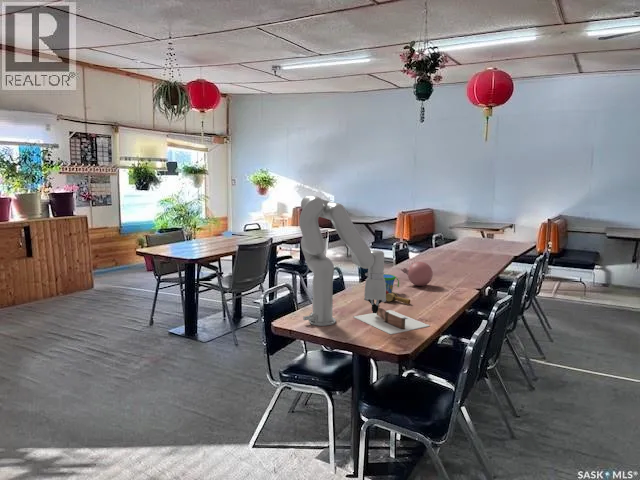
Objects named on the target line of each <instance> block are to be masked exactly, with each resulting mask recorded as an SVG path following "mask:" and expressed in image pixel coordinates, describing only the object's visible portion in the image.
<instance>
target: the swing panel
mask: <svg viewBox="0 0 640 480" xmlns="http://www.w3.org/2000/svg"><path fill="white" fill-rule="evenodd" d="M386 311H387V310H385V309H383V307H381V305H380V304H379V305H378V311H377V315H379V316H380V317H381V318H383V319H384V320H385V312H386Z"/></svg>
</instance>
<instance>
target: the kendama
mask: <svg viewBox="0 0 640 480" xmlns="http://www.w3.org/2000/svg"><path fill="white" fill-rule="evenodd" d="M394 301H397V302H399V303H402V304H405V305H410V303H411V299H409V298H405V297H402V296H398V293H396V292H395V291H392V293H389V292H388V291H386V302H394Z"/></svg>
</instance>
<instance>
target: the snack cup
mask: <svg viewBox="0 0 640 480" xmlns="http://www.w3.org/2000/svg"><path fill="white" fill-rule="evenodd" d="M384 279H385V283H386V291H388V292H389V293H392V292H393V289H394V283H395V280H397V288H399V287H400V280H399V278H398V277H396V276H395V275H393V274H389V273H388V274H387V273H385V274H384Z"/></svg>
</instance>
